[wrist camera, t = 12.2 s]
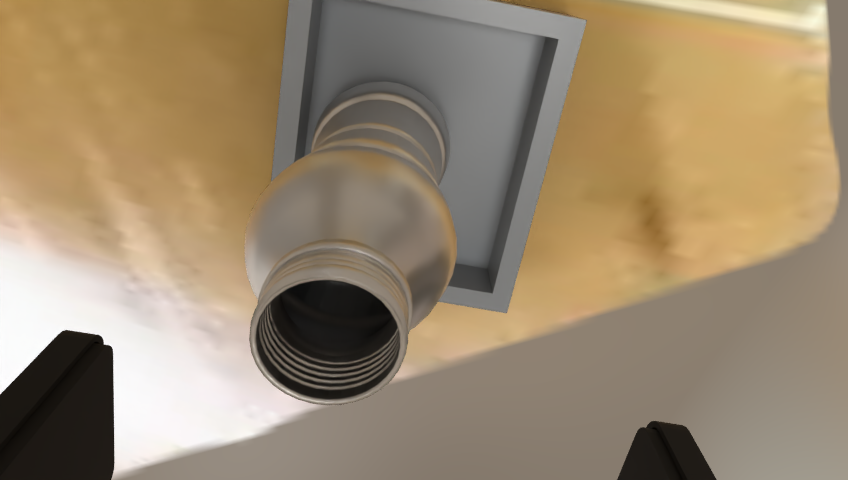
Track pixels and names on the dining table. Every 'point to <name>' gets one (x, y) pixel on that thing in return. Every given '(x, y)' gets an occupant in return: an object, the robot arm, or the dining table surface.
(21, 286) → the dining table surface
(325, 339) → the plastic bottle
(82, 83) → the dining table surface
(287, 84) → the grey bin
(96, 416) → the robot arm
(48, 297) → the dining table surface
